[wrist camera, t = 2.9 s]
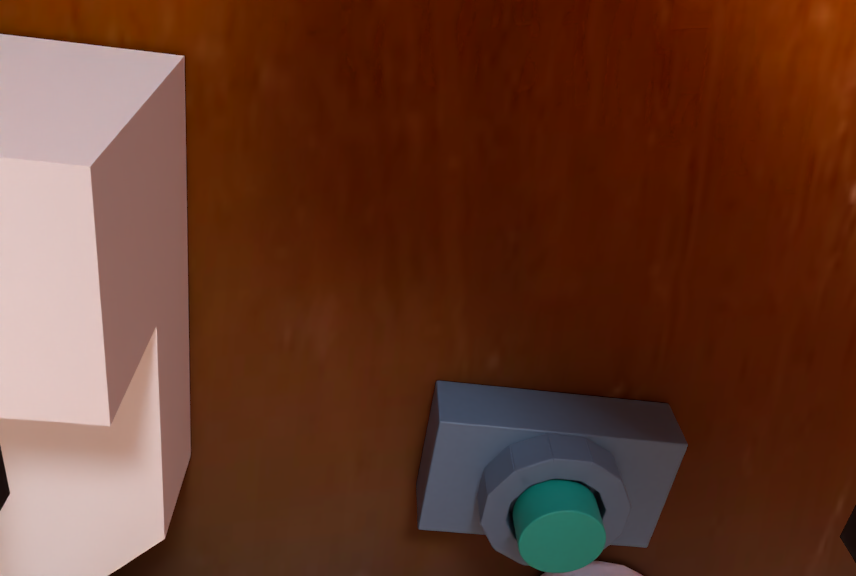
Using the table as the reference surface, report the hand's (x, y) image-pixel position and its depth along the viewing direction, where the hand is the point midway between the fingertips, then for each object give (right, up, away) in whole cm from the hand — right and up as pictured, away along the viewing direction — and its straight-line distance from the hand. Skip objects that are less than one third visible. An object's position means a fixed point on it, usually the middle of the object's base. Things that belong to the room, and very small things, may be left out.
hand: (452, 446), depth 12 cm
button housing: (+5, -6, +31) cm, 32 cm away
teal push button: (+6, -8, +27) cm, 28 cm away
